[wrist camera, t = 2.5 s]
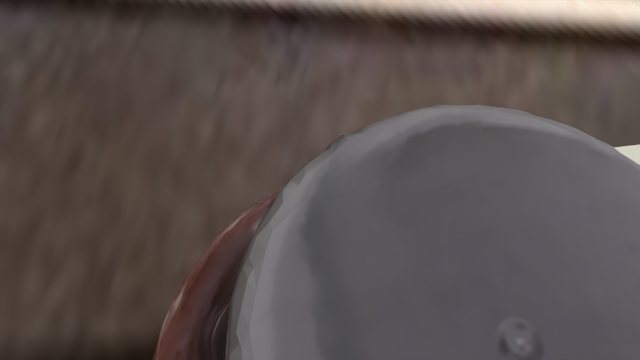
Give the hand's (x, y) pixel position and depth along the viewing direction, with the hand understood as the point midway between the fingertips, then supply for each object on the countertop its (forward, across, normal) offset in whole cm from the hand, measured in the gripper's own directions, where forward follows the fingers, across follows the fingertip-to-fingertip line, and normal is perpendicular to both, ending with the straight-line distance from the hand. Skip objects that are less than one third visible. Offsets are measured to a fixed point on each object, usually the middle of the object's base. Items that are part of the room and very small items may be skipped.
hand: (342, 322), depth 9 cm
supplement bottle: (+4, 0, +6) cm, 7 cm away
